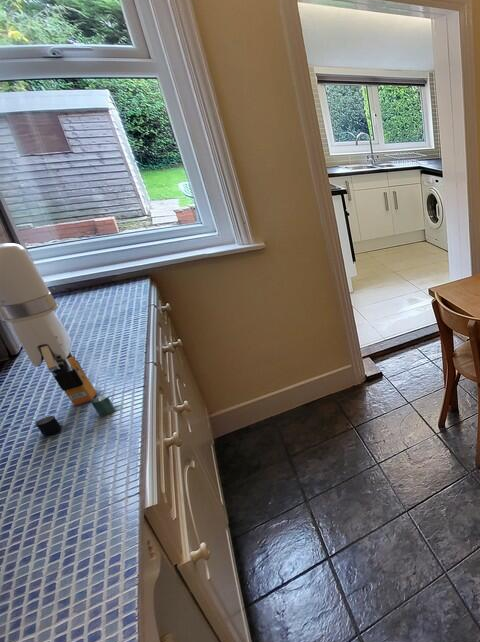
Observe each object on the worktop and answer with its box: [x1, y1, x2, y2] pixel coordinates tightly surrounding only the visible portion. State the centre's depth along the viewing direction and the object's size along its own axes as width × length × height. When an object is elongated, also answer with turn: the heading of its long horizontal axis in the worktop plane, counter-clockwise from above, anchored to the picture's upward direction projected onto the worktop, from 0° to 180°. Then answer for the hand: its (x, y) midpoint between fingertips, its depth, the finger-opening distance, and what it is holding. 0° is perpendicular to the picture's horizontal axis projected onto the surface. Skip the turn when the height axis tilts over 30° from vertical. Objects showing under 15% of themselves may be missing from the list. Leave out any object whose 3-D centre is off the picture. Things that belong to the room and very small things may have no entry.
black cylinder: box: [35, 415, 63, 438], centre depth 81 cm, size 3×3×3 cm
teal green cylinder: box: [90, 394, 116, 417], centre depth 85 cm, size 3×3×4 cm
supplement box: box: [49, 357, 98, 406], centre depth 88 cm, size 3×3×10 cm
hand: (74, 382), depth 89 cm, fingers closed on supplement box, 3 cm apart
